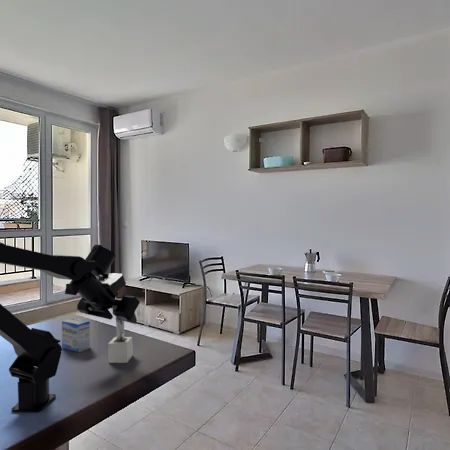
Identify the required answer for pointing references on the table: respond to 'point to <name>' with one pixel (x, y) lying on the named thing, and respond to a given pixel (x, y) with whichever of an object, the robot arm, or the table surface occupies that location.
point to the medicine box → (75, 335)
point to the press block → (120, 350)
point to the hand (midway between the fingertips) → (123, 320)
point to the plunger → (119, 329)
